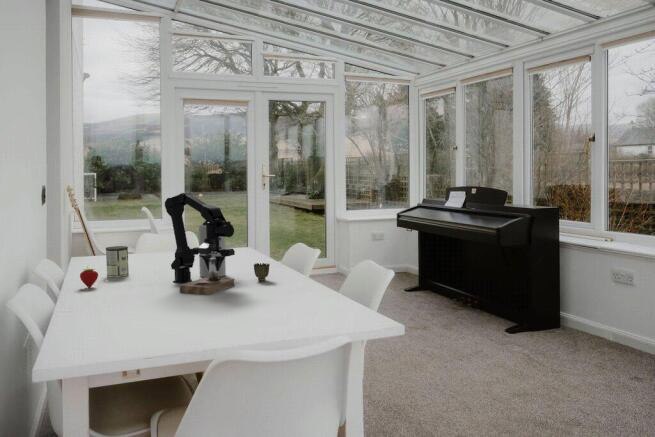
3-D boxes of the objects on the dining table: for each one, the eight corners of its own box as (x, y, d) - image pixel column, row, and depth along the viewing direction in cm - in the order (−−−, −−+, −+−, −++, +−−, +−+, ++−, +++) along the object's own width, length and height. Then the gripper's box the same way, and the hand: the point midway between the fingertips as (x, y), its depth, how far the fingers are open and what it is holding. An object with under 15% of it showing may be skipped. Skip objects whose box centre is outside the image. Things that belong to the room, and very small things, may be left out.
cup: (266, 282, 251) (266, 265, 251) (251, 282, 253) (251, 265, 252) (271, 279, 259) (271, 262, 258) (256, 279, 260) (256, 262, 260)
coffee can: (112, 273, 277) (111, 245, 276) (132, 273, 276) (131, 246, 275) (102, 277, 267) (101, 248, 265) (122, 277, 265) (121, 248, 264)
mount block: (179, 292, 231) (179, 285, 231) (207, 283, 250) (207, 276, 250) (208, 294, 226) (208, 287, 226) (234, 285, 246) (233, 278, 245)
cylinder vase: (194, 277, 266) (193, 225, 264) (209, 272, 278) (208, 223, 276) (216, 278, 261) (215, 226, 260) (230, 274, 273) (229, 224, 271)
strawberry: (97, 288, 240) (96, 265, 239) (78, 289, 238) (78, 266, 237) (99, 285, 246) (99, 263, 245) (81, 286, 244) (80, 264, 243)
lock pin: (207, 281, 242) (206, 259, 241) (212, 279, 245) (211, 257, 245) (215, 282, 240) (214, 259, 239) (219, 280, 244) (219, 258, 243)
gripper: (184, 236, 237) (184, 272, 238) (221, 238, 230) (222, 275, 232) (198, 234, 247) (199, 268, 249) (235, 235, 241) (235, 271, 242)
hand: (213, 270), depth 242 cm, fingers closed on lock pin, 4 cm apart
